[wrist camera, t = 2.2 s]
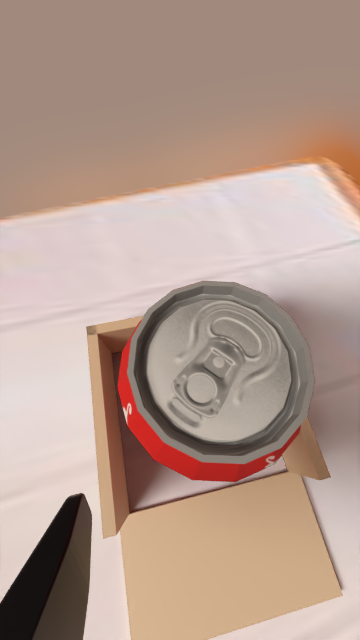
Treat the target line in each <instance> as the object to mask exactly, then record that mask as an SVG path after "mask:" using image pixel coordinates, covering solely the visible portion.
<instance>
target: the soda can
mask: <svg viewBox="0 0 360 640" xmlns="http://www.w3.org/2000/svg"><path fill="white" fill-rule="evenodd" d="M314 384H315V378H314V372H313V366H312V361H311V355H310V349H309V345H308V344H307V342H306V340H305V339H304V337H303V335H302V333H301V332H300V330H299V328H298V327H297V325H296V323H295V322H294V320H293V318H292V317H291V315H289V314H288V313H287V312H286V311H285V310H283V309H282V308H281V307H280V306H279V305H277V304H276V303H275V302H274V301H273V300H271V299H270V298H269V297H268V296H267V295H266V294H263V293H261V292H258V291H256V290H253V289H250V288H248V287H245V286H243V285H240V284H238V283H235V282H217V281H201V282H198V283H194V284H191V285H188V286H185V287H181V288H178V289H175V290H172V291H171V292H170V293H168V294H167V295H166V296H165V297H163V298H162V299H161V300H159V301H158V302H157V303H156V304H154V305H153V306H152V307H150V308H149V309H148V310H147V312H146V314H145V315H144V317H143V319H142V320H141V321H139V323H138V325H137V326H136V328H135V330H134V332H133V333H132V335H131V337H130V339H129V340H128V342H127V344H126V345H125V347H124V349H123V351H122V356H121V364H120V371H119V378H118V386H117V389H118V392H119V396H120V400H121V404H122V407H123V411H124V415H125V419H126V422H127V426H128V427H129V429H130V430H131V431H132V432H133V434H134V435H135V436H136V438H137V439H138V440H139V441H140V443H141V444H142V445H143V447H144V448H145V449H146V450H147V452H148V453H149V454H150V455H151V457H152V458H153V459H154V460H155V461H157V462H159V463H161V464H163V465H165V466H167V467H169V468H171V469H172V470H174V471H176V472H178V473H180V474H182V475H184V476H186V477H188V478H189V479H191V480H203V481H226V482H236V481H239V480H241V479H243V478H245V477H248V476H250V475H252V474H254V473H257V472H259V471H261V470H263V469H266V468H268V467H270V466H272V465H274V464H275V463H276V461H277V460H278V459H279V458H280V457H281V455H282V454H283V453H284V452H285V450H286V449H287V448H288V447H289V446H290V444H291V443H292V442H293V441H294V439H295V438H296V437H297V436H298V434H299V432H300V428H301V424H302V422H303V421H304V420H305V419H306V417H307V413H308V409H309V405H310V401H311V397H312V392H313V388H314Z"/></svg>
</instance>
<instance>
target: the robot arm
mask: <svg viewBox="0 0 360 640" xmlns="http://www.w3.org/2000/svg"><path fill="white" fill-rule="evenodd" d="M91 532H92V514H91V510H90V507H89V505H88V502H87V500H86V497H85V495H84V494H83V493H79V494H75V495H71V496H69V497H68V498H67V499H66V500H65V502H64V504H63V505H62V507H61V508H60V510H59V511H58V513H57V515H56V516H55V518H54V519H53V521H52V522H51V524H50V526H49V527H48V529H47V530H46V532H45V533H44V535H43V537H42V538H41V540H40V541H39V543H38V544H37V546H36V548H35V549H34V551H33V552H32V554H31V555H30V557H29V559H28V560H27V562H26V563H25V565H24V566H23V568H22V570H21V571H20V573H19V574H18V576H17V577H16V579H15V581H14V582H13V584H12V585H11V587H10V589H9V590H8V592H7V593H6V595H5V596H4V598H3V600H2V601H1V603H0V640H83V634H84V627H85V619H86V611H87V603H88V594H89V582H90V558H91Z"/></svg>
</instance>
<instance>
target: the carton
mask: <svg viewBox="0 0 360 640" xmlns="http://www.w3.org/2000/svg"><path fill="white" fill-rule="evenodd" d="M143 317H144V316H142V317H136V318H131V319H125V320H120V321H114V322H109V323H104V324H98V325H93V326H87V340H88V353H89V365H90V378H91V391H92V403H93V416H94V429H95V442H96V454H97V467H98V480H99V492H100V505H101V518H102V531H103V539H104V538H108V537H111V536H115V535H117V533H118V532H119V530H120V535H121V545H122V555H123V565H124V575H125V585H126V595H127V605H128V615H129V625H130V635H131V640H207V639H210V638H213V637H216V636H219V635H222V634H225V633H229V632H232V631H235V630H238V629H241V628H244V627H247V626H250V625H253V624H256V623H259V622H262V621H266V620H269V619H272V618H275V617H278V616H281V615H284V614H287V613H290V612H293V611H296V610H299V609H303V608H306V607H309V606H312V605H315V604H318V603H321V602H324V601H327V600H330V599H333V598H336V597H340V596H343V595H342V592H341V589H340V586H339V583H338V580H337V578H336V575H335V572H334V569H333V566H332V563H331V560H330V558H329V555H328V552H327V549H326V546H325V543H324V540H323V538H322V535H321V532H320V529H319V526H318V523H317V520H316V518H315V515H314V512H313V509H312V506H311V503H310V500H309V498H308V495H307V492H306V489H305V486H304V483H303V480H302V478H301V475H303V476H306V477H310V478H314V479H317V480H322V479H326V478H329V477H331V476H330V474H329V471H328V469H327V466H326V464H325V461H324V459H323V456H322V453H321V451H320V448H319V446H318V443H317V441H316V438H315V435H314V433H313V430H312V428H311V425H310V423H309V420H308V417H306V419H305V420H304V421H303V422H302V424H301V428H300V432H299V434H298V436H297V437H296V438H295V439H294V441H293V442H292V443H291V444H290V446H289V447H288V448H287V449H286V450H285V452H284V453H283V454H282V456H283V459H284V461H285V464H286V467H287V470H288V472H284V473H280V474H276V475H272V476H269V477H265V478H261V479H257V480H253V481H250V482H246V483H242V484H238V485H234V486H231V487H227V488H223V489H219V490H215V491H212V492H208V493H204V494H200V495H196V496H193V497H189V498H185V499H181V500H177V501H174V502H170V503H166V504H162V505H158V506H154V507H151V508H147V509H143V510H139V511H135V512H132V513H130V510H129V502H128V493H127V484H126V476H125V467H124V458H123V450H122V441H121V432H120V424H119V415H118V406H117V398H116V389H115V380H114V371H113V363H112V354H111V353H116V352H121V351H123V349H124V347H125V345H126V344H127V342H128V340H129V339H130V337H131V335H132V333H133V332H134V330H135V328H136V326H137V325H138V323H139V321H141V320H142V319H143Z"/></svg>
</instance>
